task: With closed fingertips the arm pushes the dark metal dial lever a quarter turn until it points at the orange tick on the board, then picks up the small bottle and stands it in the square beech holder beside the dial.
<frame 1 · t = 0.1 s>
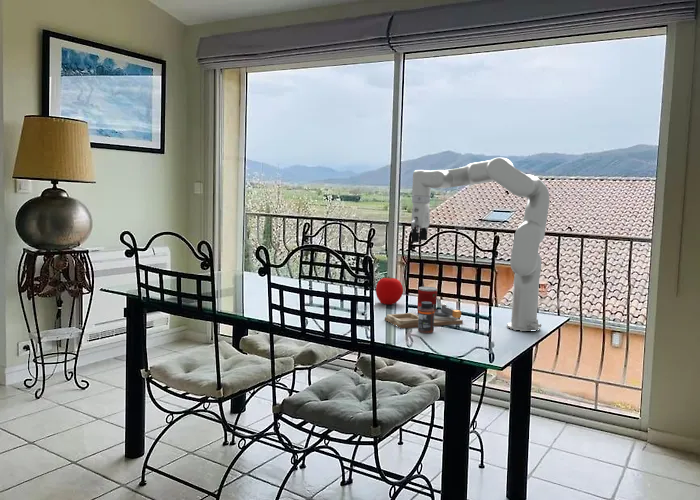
hand: (419, 241, 266), 31 cm above the table, tool pointing down, fingers open, 9 cm apart
supplement bottle: (425, 332, 240), on the table
tomato: (388, 304, 288), on the table
canned food: (426, 313, 271), on the table
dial: (448, 311, 255), point 5 cm above the table, hinge at 0.0°
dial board: (423, 321, 256), on the table
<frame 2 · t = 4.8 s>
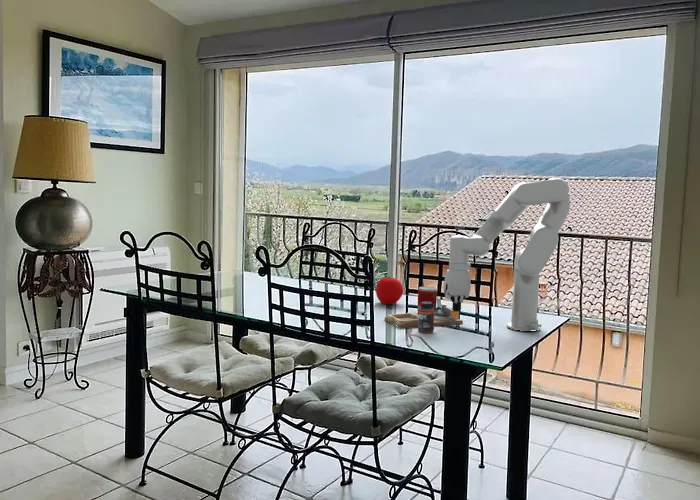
hand: (456, 312, 253), 5 cm above the table, tool pointing down, fingers closed
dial: (447, 311, 255), point 5 cm above the table, hinge at 5.1°, touching gripper
everything else where it was.
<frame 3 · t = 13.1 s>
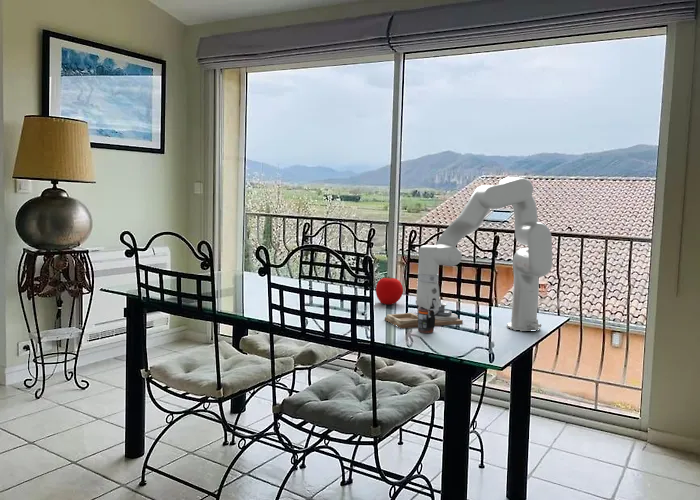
hand: (426, 324, 240), 3 cm above the table, tool pointing down, fingers closed on supplement bottle, 6 cm apart
supplement bottle: (425, 332, 240), on the table, touching gripper
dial: (435, 309, 257), point 5 cm above the table, hinge at 86.1°
everything else where it was.
when the fingers open (5 cm above the table, at t = 18.2 s): supplement bottle drops 1 cm, resting on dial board.
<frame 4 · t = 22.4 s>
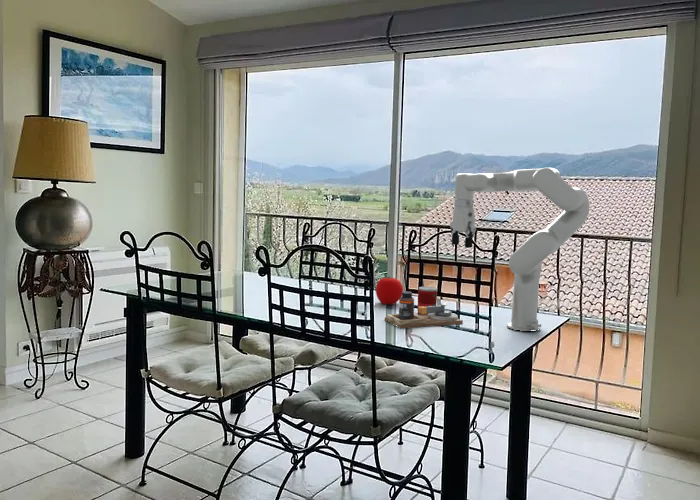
hand: (461, 245, 260), 30 cm above the table, tool pointing down, fingers open, 9 cm apart
supplement bottle: (406, 320, 253), point 1 cm above the table, touching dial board
everything else where it was.
at the end: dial at +86° (first picture: +0°); supplement bottle inside the target area on the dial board (0.1 cm from its centre), point 1.0 cm above the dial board's base; supplement bottle tilted 0° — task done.
